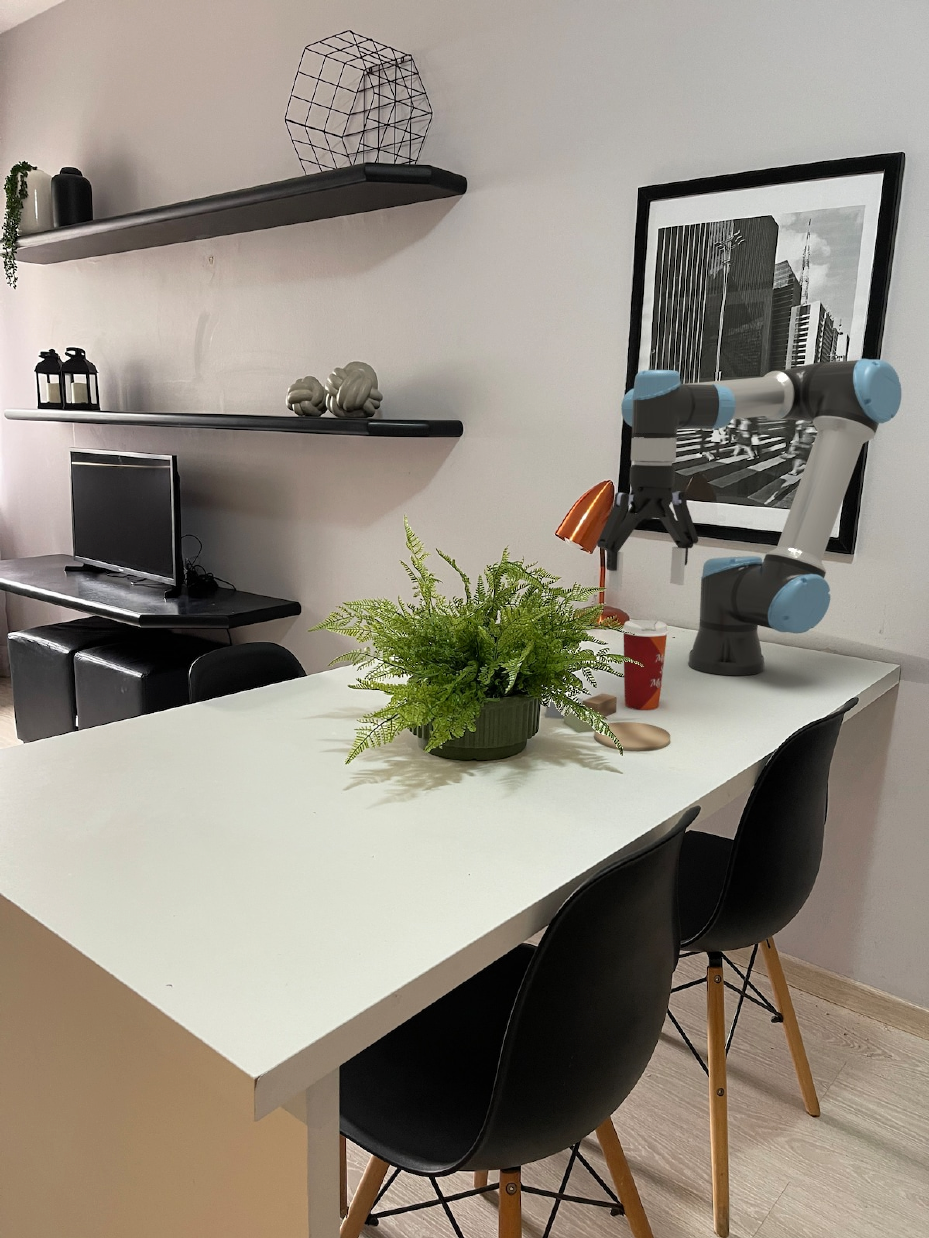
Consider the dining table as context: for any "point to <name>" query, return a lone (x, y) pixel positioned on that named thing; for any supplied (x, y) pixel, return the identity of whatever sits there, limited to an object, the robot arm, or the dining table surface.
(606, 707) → the walnut block
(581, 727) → the olive block
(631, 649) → the coffee cup
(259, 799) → the dining table surface
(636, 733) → the disc
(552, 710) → the slate block
